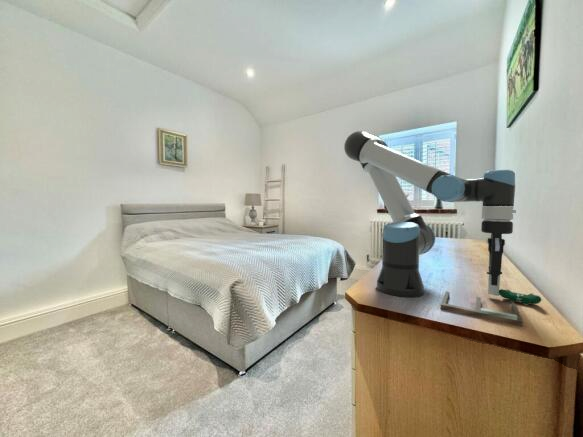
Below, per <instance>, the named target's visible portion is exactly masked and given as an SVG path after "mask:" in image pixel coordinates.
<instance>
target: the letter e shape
mask: <svg viewBox="0 0 583 437" xmlns="http://www.w3.org/2000/svg"><path fill="white" fill-rule="evenodd" d="M475 298H476V300H475V309H473V308H469V307H462V306H459V305H453V304H448V301H449V299H450V291H445V293H444V295H443V298H442V300H441V302H440V310H444V311H448V312H452V313H457V314H462V315H466V316H472V317H475V318H480V319H484V320H490V321H493V322H494V321H495V322H499V323H504V324H508V325H513V326H518V327H523V324H524V323H523V322H524V321H523V319H522V316H521V314H520V311H519V307H518V305H517V303H515V302H510V304H511V305H510V306H511V307H510V309H511V311H512V313H509V312H503V311H497V310H493V309H490V308H489V309H488V308H483V307H482V303H481V302H482V301H481V300H482V298H481V297H479V296H476V297H475Z"/></svg>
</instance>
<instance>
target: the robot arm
mask: <svg viewBox="0 0 583 437" xmlns="http://www.w3.org/2000/svg"><path fill="white" fill-rule="evenodd" d="M343 149H344V152H345V155H346V156H347V157H348V158H349V159H351V160H353V161H356V162H359V163H360V165H361V168H362V169H363V172H364V173H368V174H369V175H370V178H371V179H372V182H373V183H374V186H375V187H376V190H377V192H378V194H379V196H380V198H381V200H382V201H383V204H384V206H385V207H386V211H387V212H388V214H389V216H390V218H391V220H392V222H390V223H386V224H385V225H384V226H383V228H382V235H381V237H382V249H381V250H382V257H381V258H382V265H381V269H380V271H379V274H378V277H377V280H376V289H378V291H380V292H382V293H385V294H387V295H390V296H395V297H400V298H401V297H402V298H416V297H422V296H423V295H424V294H425V285H424V281H423V279H422V276H421V273H420V270H419V269H420V268H419V265H420V264H419V263H420V255H424V254H426V253H428V252H429V251H430V250H432V248H433V247H434V246H435V243H436V234H435V232H434V230H433V228H431V227H430V226H429V225H428V224H426V222H425V220H424V218H423V217H422V215H421V214H418V213H416V212H415V211H414V209H413V206H412V205H411V203H410V201H409V198H408V197H407V195H406V194H405V191H404V189H403V187H402V186H401V184H400V182H399V180H398V179H400V180H402V181H405V182H406V183H409V184H411V185H413V186H415V187H417V188H419V189H421V190H424V191H425V192H427V193H429V194H430V195H432V196H434V197H435V198H436V199H438V200H440V201H442V202H443V203H444V202H448V203H454V202H455V203H458V202H459V203H461V202H462V203H463V202H464V203H467V202H482V207H481V219H482V221H481V230H480V231H481V233H485V234H490V237H487V245H488V246H487V248H488V249H487V250H488V254H489V256H488V257H489V258H488V260H489V261H488V271H486V274H487V275H488V282H487V294H488V295H490V296H491V295H492V296H496V297H497V296H498V297H500V295H499V290H500V285H501V284H500V282H501V275H503V271H502V263H503V262H502V260H503V254H504V247H505V245H506V240H505V239H504V238H503V236H502V235H511V234H513V233H514V232H513V231H514V230H513V229H514V223H513V221H512V220H514V214H516V213H517V209H514V206H515V196H516V194H515V193H516V174H515V171H513V170H511V169H496V170H495V169H494V170H487V171H485V172H484V173H483V176H482V177H480V178H464V179H463V178H461V177H458V176H456V175H453V174H450V173H448V172H446V171H443V170H441V169H439V168H438V167H437V168H436V167H434V166H431V165H429V164H427V163H425V162H422V161H420V160H418V159H415V158H413V157H410V156H408V155H405V154H403V153H401V152H399V151H397V150H394V149H392V148H389V146H388V144H387V143H386V141H385V140H383V139H382V138H380V137H378V136H374V135H372V134H369V132H367V131H359V130H358V131H354V132H353V133H351V134H349V135H348V136H347V138H346V140H345V141H344V148H343Z"/></svg>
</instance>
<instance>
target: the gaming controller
mask: <svg viewBox="0 0 583 437" xmlns="http://www.w3.org/2000/svg"><path fill="white" fill-rule="evenodd" d="M499 297H501V298H503V299H506V300H509V301H510V303H515V302H516V301H517V302H522V304H523V305H525V306H529V304H531V305H538V304H540V303H541V301H542V297H541V296H539V295H535V294H534V293H532V292H530V293H529V294H525V293H519V292H514V291H513V292H512V291H511V290H510V289H509V288H506V289H499Z"/></svg>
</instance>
